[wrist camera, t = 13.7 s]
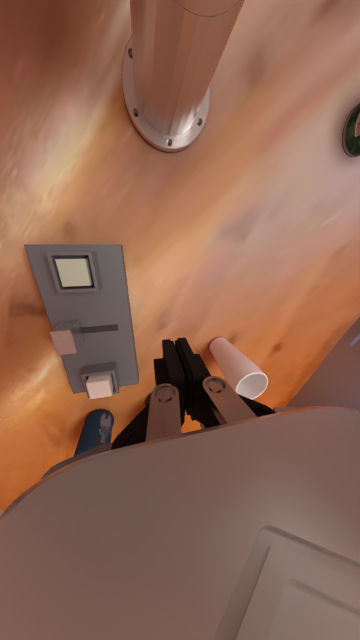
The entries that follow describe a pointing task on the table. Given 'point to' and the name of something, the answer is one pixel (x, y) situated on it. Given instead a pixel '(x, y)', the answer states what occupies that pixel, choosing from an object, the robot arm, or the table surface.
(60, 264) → the button sage
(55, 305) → the panel
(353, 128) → the canned tomato
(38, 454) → the table surface
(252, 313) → the table surface
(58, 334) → the block
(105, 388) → the button cream
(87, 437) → the soda can
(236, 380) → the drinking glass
